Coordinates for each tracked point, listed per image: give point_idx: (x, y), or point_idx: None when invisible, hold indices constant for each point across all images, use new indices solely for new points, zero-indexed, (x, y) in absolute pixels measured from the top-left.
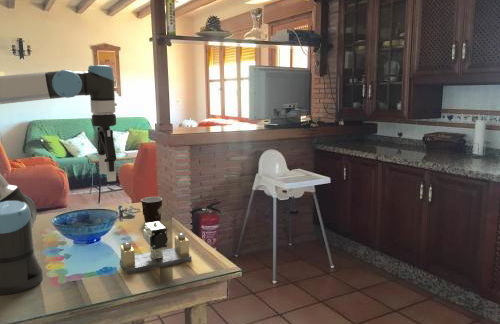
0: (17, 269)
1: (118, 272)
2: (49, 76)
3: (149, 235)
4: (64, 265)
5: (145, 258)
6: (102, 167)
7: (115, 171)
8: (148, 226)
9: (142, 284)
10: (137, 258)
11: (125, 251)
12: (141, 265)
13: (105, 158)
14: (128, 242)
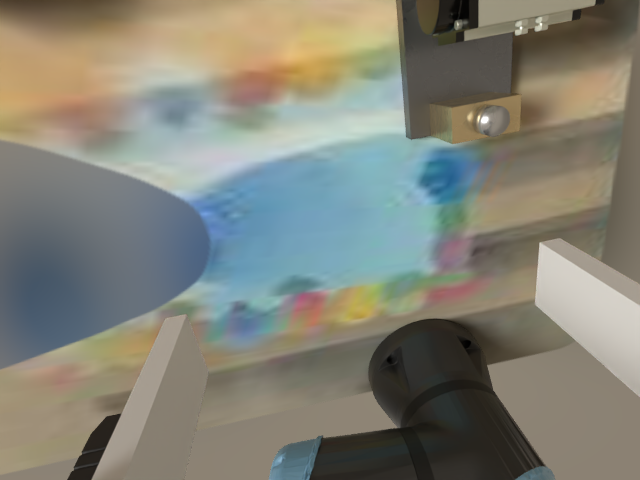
0: (491, 383)
1: (476, 143)
2: None
3: (556, 20)
4: (364, 285)
5: (452, 49)
6: (189, 401)
7: (632, 282)
8: (533, 13)
9: (589, 77)
10: (439, 79)
11: (517, 127)
12: (502, 70)
13: (145, 468)
14: (490, 115)
